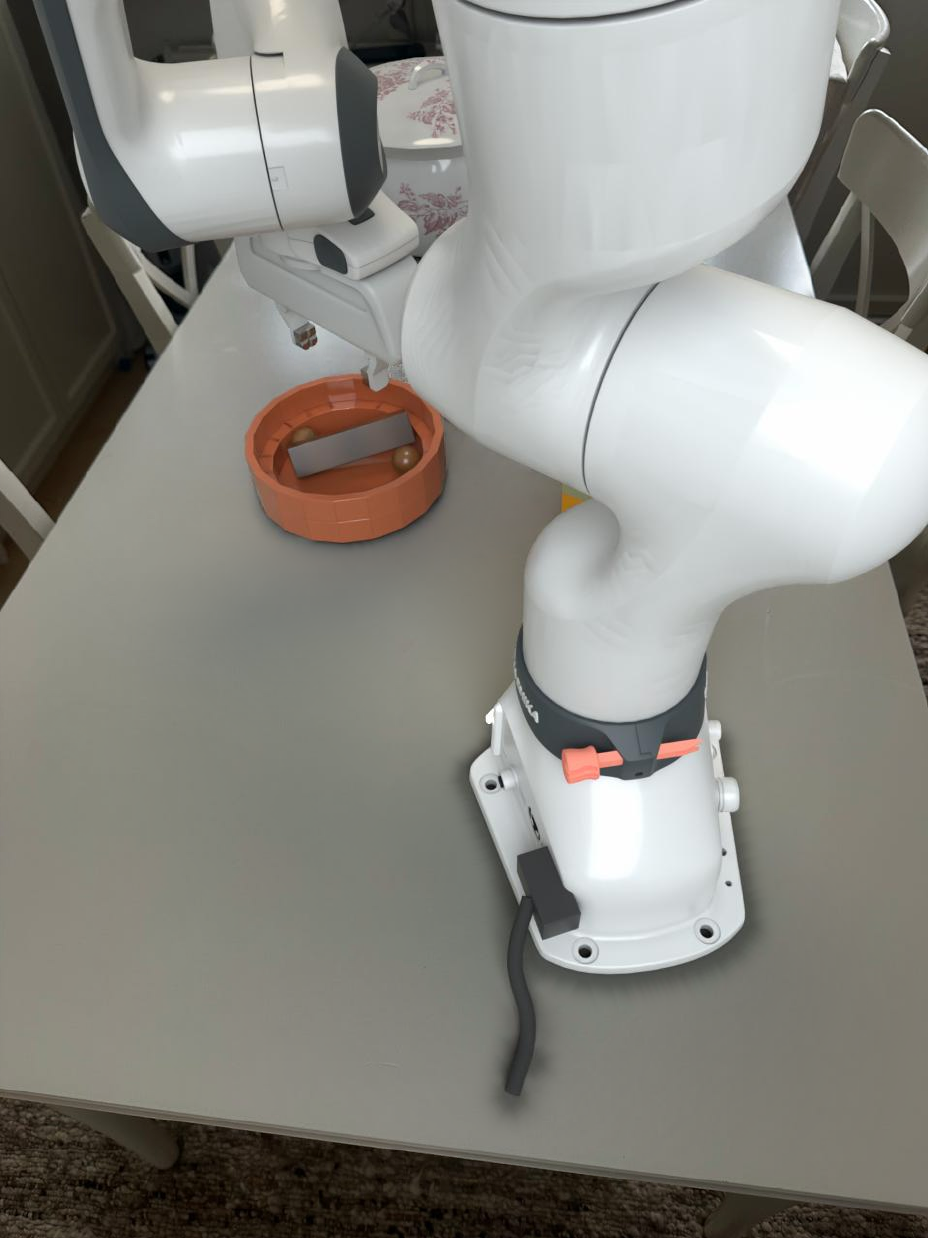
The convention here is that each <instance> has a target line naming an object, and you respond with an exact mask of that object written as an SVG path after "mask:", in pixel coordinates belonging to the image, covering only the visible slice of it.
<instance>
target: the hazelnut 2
mask: <svg viewBox="0 0 928 1238" xmlns="http://www.w3.org/2000/svg"><path fill="white" fill-rule="evenodd" d="M421 459H422V456H421V454H420V452H419V451H418V450H417V449H416V448H414V447H412V446H401V447H399V448H398V449H397V450H396V451H395V452H394V453H393V455H392V461H391V462H392V467H393V469H394V470H395V472H396V473H398V474H399V475H401V476H402V475H404V474H405V473H407V472H408V471H410V470H411V469H413V468H414V467H416V465H417V464H418V463H419V462H420V460H421Z"/></svg>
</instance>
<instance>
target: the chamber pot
mask: <svg viewBox="0 0 928 1238" xmlns="http://www.w3.org/2000/svg"><path fill="white" fill-rule="evenodd" d="M368 68H369V69H370V70H371V71H372V72H373V73H374V74H375V75H376V77H377V80H378V95H377V116H378V125H379V134H380V138H381V141H382V145H383V148H384V152H385V157H386V162H387V179H386V180H385V182H384V184H383V186H382V187H381V190H382V191H383V193H384V194H385V195H386V196H387V197H388V198H389V199H390V200H391V201H392V202H393V203H394V204H395V205H397V206H398V207H399V208H400V209H401V210H402V211H403V212H405V213H406V214H407V215H408V216H409V217H410V218H411V219H412V220H413V221H414V222H415V223H416V225H417V228H418V232H419V245H418V247H417V248H416V249H415V250H413V251H412V252H410V253H409V254H411V256H412V257H417V258H422V257H423V256H424V254H425V253H426V252H427V250H428V249H429V248H430V246H431V245H432V244H433V243H434V242H435V240H436V239H437V238H438V237H439V236H440V235H441V234H442V233H444V232H445V231H446V230H447V229H448V228H449V227H451V226H452V225H453V224H454V223H456V222H457V221H459V220H461V219H462V218H464V217H467V211H468V199H469V190H468V177H467V169H466V163H465V158H464V153H463V147H462V142H461V137H460V131H459V126H458V121H457V116H456V111H455V106H454V101H453V96H452V91H451V86H450V82H449V77H448V73H447V68H446V63H445V59H444V55H438V56H424V57H412V58H406V59H401V60H394V61H388V62H385V63H381V64H378V65H375V66H371V67H368Z"/></svg>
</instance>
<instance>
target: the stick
mask: <svg viewBox="0 0 928 1238" xmlns="http://www.w3.org/2000/svg"><path fill="white" fill-rule="evenodd" d="M414 442H416V440H415V437H414V434H413V430H412V427H411V423H410V420H409V417H408V413H407V412H406V411H405V410H404V409H401V410H398V411H394V412H391V413H388V414H385V415H382V416H378V417H375V418H372V419H369V420H365V421H362V422H359V423H356V424H353V425H349V426H346V427H343V428H340V429H336V430H333V431H330V432H327V433H324V434H320V435H317V436H314V437H311V438H307V439H304V440H301V441H298V442H295V443H291V444H288V445H287V451H288V454H289V457H290V459H291V462H292V465H293V468H294V471H295V473H296V476H297V479H299V478H302V477H305V476H308V475H312V474H315V473H318V472H321V471H324V470H328V469H331V468H334V467H337V466H340V465H344V464H347V463H350V462H353V461H356V460H360V459H363V458H366V457H369V456H372V455H375V454H379V453H382V452H385V451H388V450H391V449H395V448H398V447H401V446H404V445H407V444H411V443H414Z"/></svg>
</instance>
